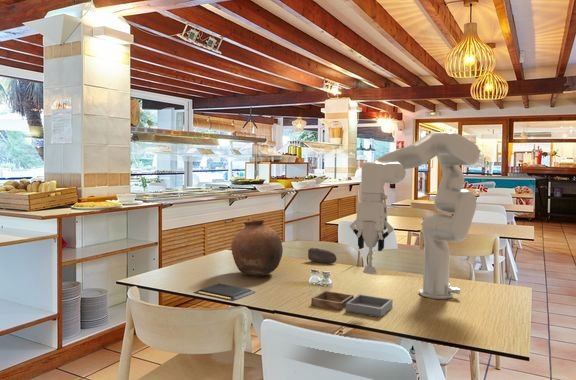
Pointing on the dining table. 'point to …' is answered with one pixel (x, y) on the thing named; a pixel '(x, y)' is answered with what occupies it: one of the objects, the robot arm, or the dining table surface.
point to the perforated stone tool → (321, 255)
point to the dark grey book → (225, 292)
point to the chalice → (370, 244)
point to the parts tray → (369, 305)
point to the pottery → (256, 249)
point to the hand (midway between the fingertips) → (370, 249)
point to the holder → (331, 304)
